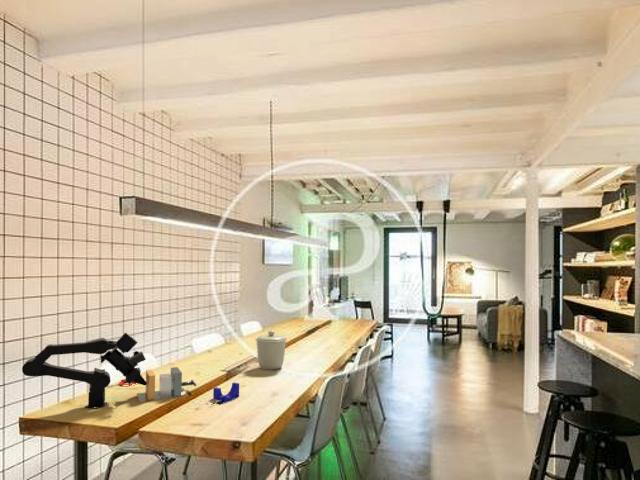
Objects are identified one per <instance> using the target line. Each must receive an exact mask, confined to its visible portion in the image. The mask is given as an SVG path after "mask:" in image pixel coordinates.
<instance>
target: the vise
mask: <svg viewBox="0 0 640 480" xmlns="http://www.w3.org/2000/svg"><path fill="white" fill-rule="evenodd" d="M170 376H171V396H165V397H161V395H160V393H159V390H155V399H152V400H151V401H156V400H164V399H171V398H172V399H173V398H174V399H175V398H180V397H188V396H189V394H188V392H187V393H186V394H184V395H181V392H183V391H186V390H185V388H184V387H185V386H186V387H188V386H194V387H197V383H196V382H195V381H194V380H193V379H191V380H190V381H183V372H182V371H181V370H180V369H179V367H178V366H177V367H176V366H175V367H170ZM136 394H137V397H138V398H137V399H138V401H139V402H150V400H148V398H147V395H146V391H145V392H137V393H136Z"/></svg>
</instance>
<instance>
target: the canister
mask: <svg viewBox="0 0 640 480" xmlns="http://www.w3.org/2000/svg"><path fill="white" fill-rule="evenodd" d="M287 340H288V338H287V337H286V336H283V335H279V334H275V331H274V330H268V333H267V334H265V335H264V334H263V335H259V336H257V337H256V338H255V342H256V350H257V360H258V365H259V366H258V367H260V368H261V369H262V370H266V371H267V370H269V371H271V370H278V369H280V368H282V367H283V365H284V360H285V351H286V350H285V349H286V342H287Z"/></svg>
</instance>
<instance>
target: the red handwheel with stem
mask: <svg viewBox="0 0 640 480" xmlns="http://www.w3.org/2000/svg"><path fill="white" fill-rule="evenodd" d="M127 357H128V358H130V357H131V356H130V355H127ZM125 382H126V380H125V379H121V380H120V381H119V384H120V385H132V384H136V383H134V382H131V383H130V384H128V383H127V382H126V383H125ZM120 385H119V386H120ZM136 385H137V384H136Z"/></svg>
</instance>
